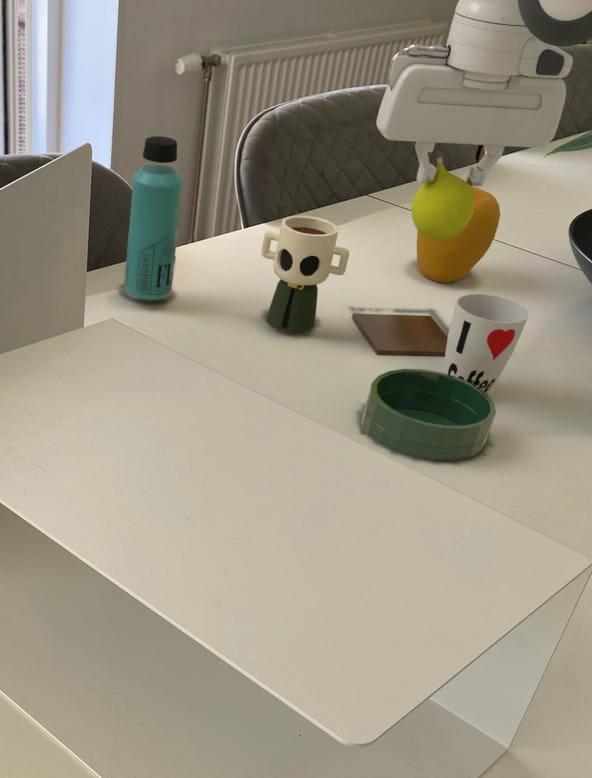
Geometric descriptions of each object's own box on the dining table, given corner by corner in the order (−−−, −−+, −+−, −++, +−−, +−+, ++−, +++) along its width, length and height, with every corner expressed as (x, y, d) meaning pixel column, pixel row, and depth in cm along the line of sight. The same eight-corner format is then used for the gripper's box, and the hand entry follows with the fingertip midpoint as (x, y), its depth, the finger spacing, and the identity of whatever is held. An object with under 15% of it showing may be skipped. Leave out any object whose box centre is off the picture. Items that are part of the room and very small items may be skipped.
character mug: (241, 326, 128) (258, 223, 120) (258, 307, 133) (276, 207, 125) (322, 347, 125) (346, 243, 117) (336, 327, 130) (360, 226, 122)
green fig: (392, 230, 121) (415, 142, 115) (436, 225, 124) (461, 138, 117) (431, 251, 117) (457, 160, 110) (476, 245, 119) (504, 156, 113)
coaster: (429, 319, 135) (430, 315, 134) (459, 356, 127) (460, 352, 126) (351, 317, 133) (352, 313, 133) (376, 354, 125) (377, 350, 125)
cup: (427, 393, 118) (452, 312, 111) (436, 366, 124) (460, 288, 117) (496, 410, 116) (526, 328, 110) (502, 382, 122) (531, 303, 115)
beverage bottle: (154, 315, 129) (172, 150, 116) (112, 301, 131) (124, 138, 118) (179, 300, 133) (199, 139, 120) (138, 287, 136) (152, 127, 122)
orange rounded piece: (494, 286, 146) (525, 195, 137) (437, 295, 142) (465, 201, 133) (445, 259, 153) (471, 170, 144) (389, 266, 149) (413, 175, 140)
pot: (454, 409, 116) (468, 369, 112) (499, 470, 106) (516, 429, 102) (346, 408, 114) (356, 367, 111) (381, 469, 104) (394, 427, 101)
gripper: (405, 49, 103) (372, 188, 112) (588, 61, 106) (541, 196, 115) (386, 36, 108) (356, 170, 117) (561, 47, 111) (518, 178, 120)
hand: (449, 183), depth 116 cm, fingers closed on green fig, 5 cm apart
